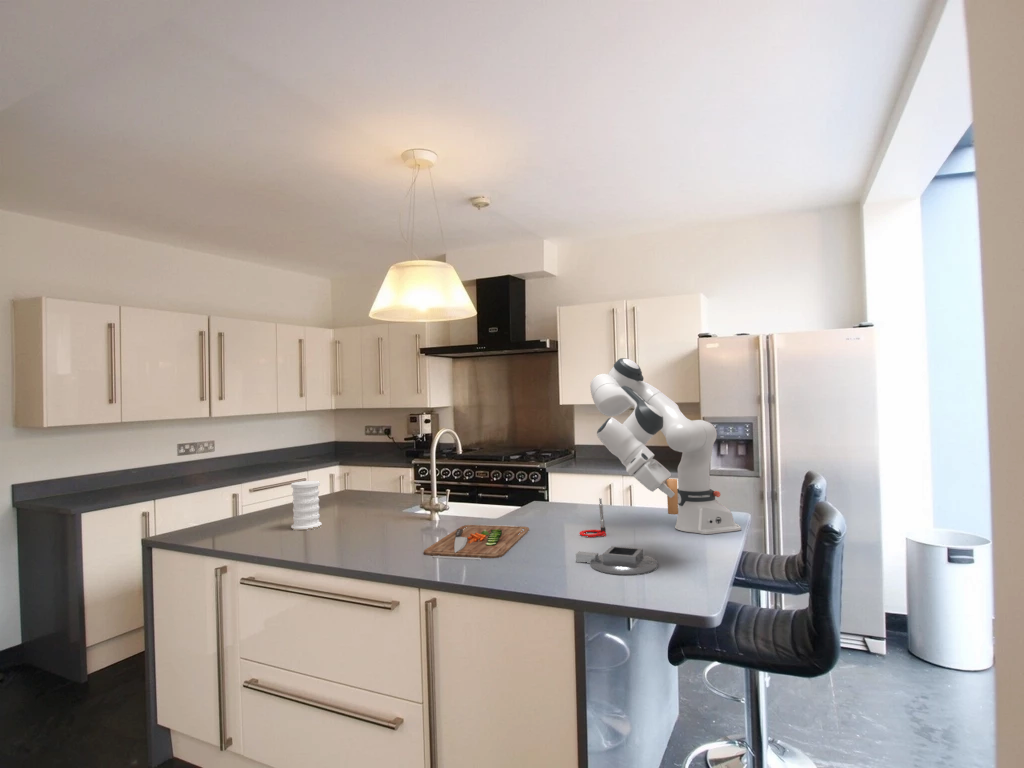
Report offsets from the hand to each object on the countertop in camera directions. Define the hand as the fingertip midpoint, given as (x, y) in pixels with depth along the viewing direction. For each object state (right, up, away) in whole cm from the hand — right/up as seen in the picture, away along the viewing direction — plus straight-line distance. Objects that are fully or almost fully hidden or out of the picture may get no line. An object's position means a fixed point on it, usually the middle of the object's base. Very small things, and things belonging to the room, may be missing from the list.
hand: (674, 494), depth 171 cm
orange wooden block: (0, -5, 0) cm, 6 cm away
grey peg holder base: (-18, -20, -3) cm, 27 cm away
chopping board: (-59, -23, +30) cm, 70 cm away
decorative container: (-131, -25, +61) cm, 146 cm away
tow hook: (-19, -21, +34) cm, 45 cm away
